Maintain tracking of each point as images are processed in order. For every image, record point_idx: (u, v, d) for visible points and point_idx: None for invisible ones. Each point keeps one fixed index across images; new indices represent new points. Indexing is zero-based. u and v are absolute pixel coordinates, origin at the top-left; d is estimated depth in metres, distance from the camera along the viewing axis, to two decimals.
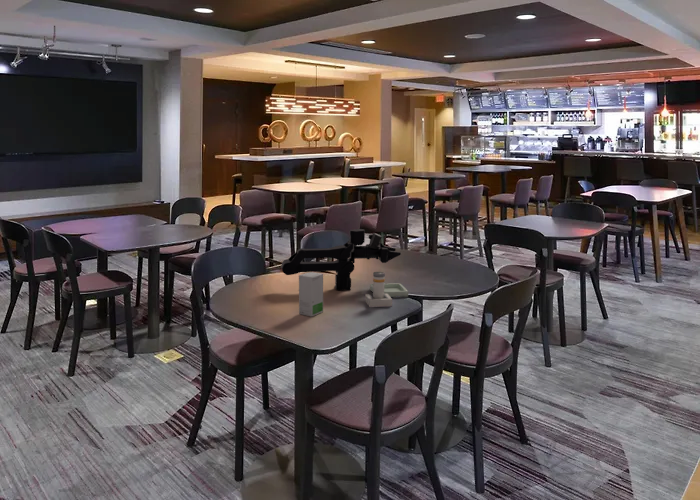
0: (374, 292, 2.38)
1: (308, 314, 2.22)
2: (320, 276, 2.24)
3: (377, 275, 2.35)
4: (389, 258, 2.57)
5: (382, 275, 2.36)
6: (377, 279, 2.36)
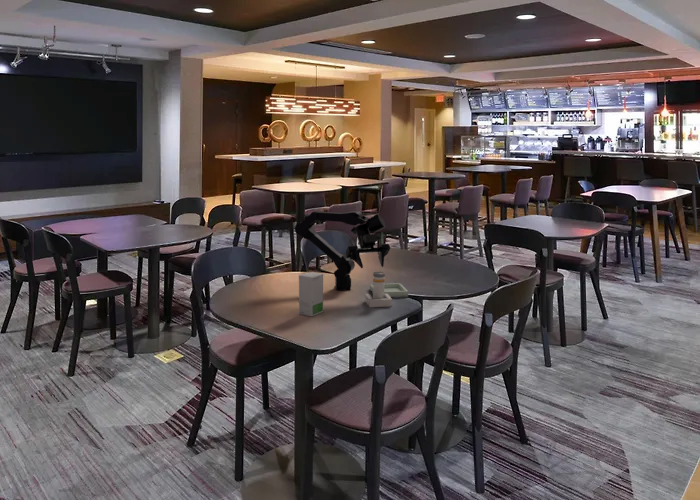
0: (374, 292, 2.38)
1: (308, 314, 2.22)
2: (320, 276, 2.24)
3: (377, 275, 2.35)
4: (354, 259, 2.47)
5: (382, 275, 2.36)
6: (377, 279, 2.36)
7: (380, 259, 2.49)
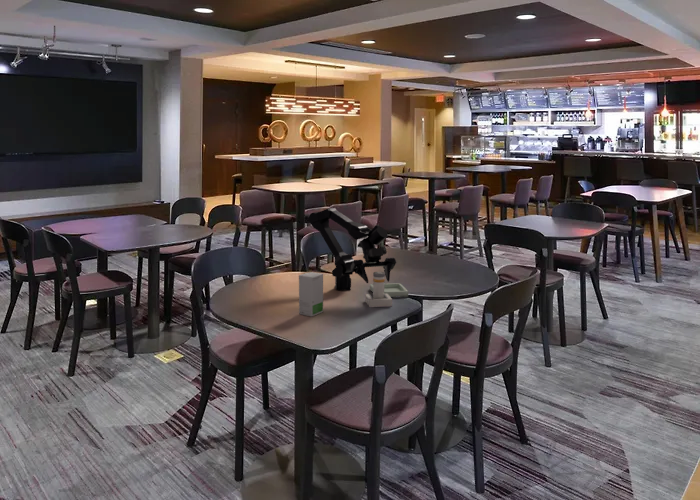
0: (374, 292, 2.38)
1: (308, 314, 2.22)
2: (320, 276, 2.24)
3: (377, 275, 2.35)
4: (359, 274, 2.42)
5: (382, 275, 2.36)
6: (377, 279, 2.36)
7: (386, 273, 2.43)
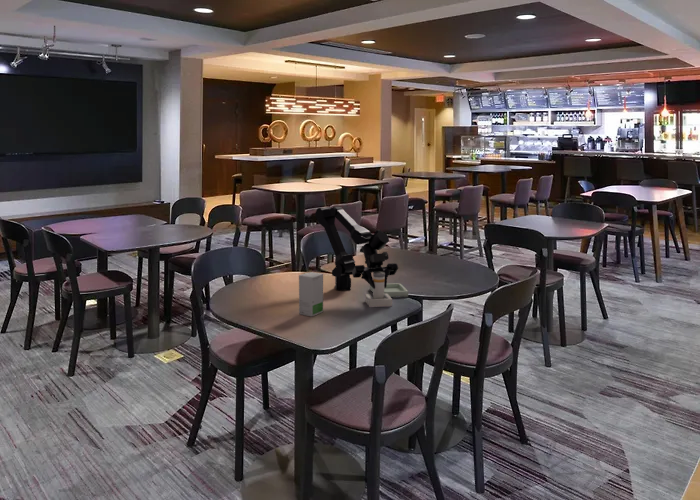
0: (374, 292, 2.38)
1: (308, 314, 2.22)
2: (320, 276, 2.24)
3: (377, 275, 2.35)
4: (366, 279, 2.40)
5: (382, 275, 2.36)
6: (377, 279, 2.36)
7: None
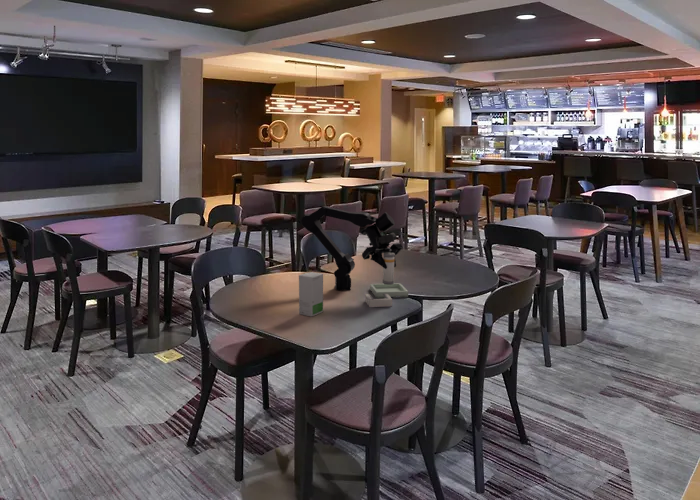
0: (385, 272, 2.46)
1: (308, 314, 2.22)
2: (320, 276, 2.24)
3: (389, 255, 2.43)
4: (375, 260, 2.47)
5: (393, 255, 2.44)
6: (389, 260, 2.44)
7: None
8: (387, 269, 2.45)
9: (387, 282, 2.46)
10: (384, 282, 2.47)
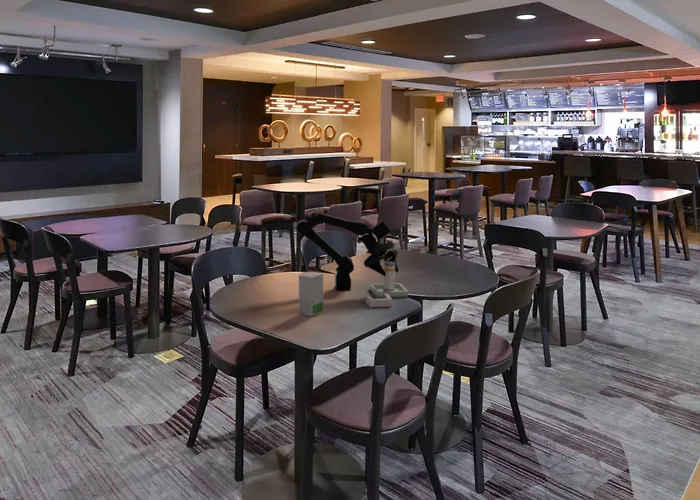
0: (387, 281, 2.53)
1: (308, 314, 2.22)
2: (320, 276, 2.24)
3: (391, 264, 2.51)
4: (373, 268, 2.51)
5: (394, 264, 2.52)
6: (391, 268, 2.52)
7: None
8: (389, 278, 2.52)
9: (389, 290, 2.53)
10: (386, 290, 2.54)
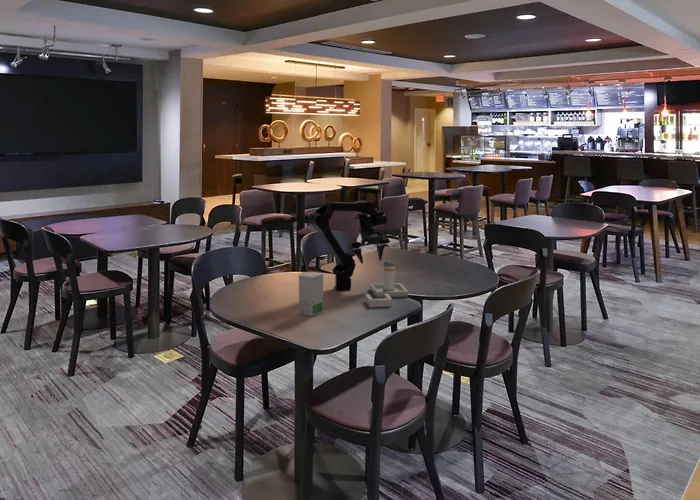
0: (387, 281, 2.53)
1: (308, 314, 2.22)
2: (320, 276, 2.24)
3: (390, 264, 2.51)
4: (355, 252, 2.62)
5: (394, 264, 2.52)
6: (391, 268, 2.51)
7: (378, 252, 2.66)
8: (389, 278, 2.52)
9: None
10: None
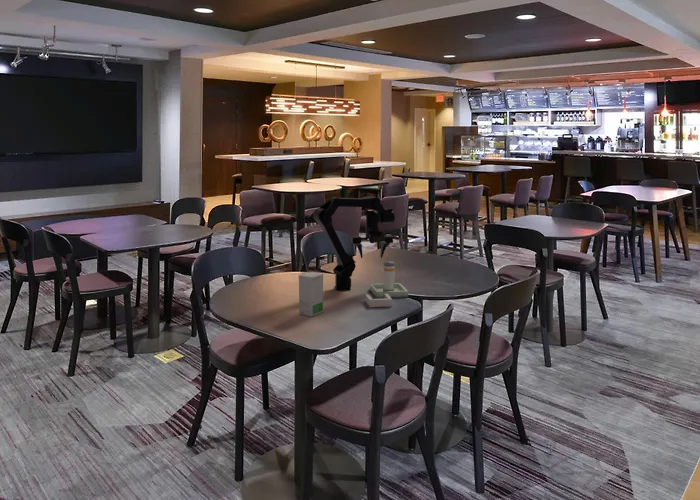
0: (387, 281, 2.53)
1: (308, 314, 2.22)
2: (320, 276, 2.24)
3: (390, 264, 2.51)
4: (357, 245, 2.65)
5: (394, 264, 2.52)
6: (391, 268, 2.51)
7: (381, 249, 2.67)
8: (389, 278, 2.52)
9: None
10: None
